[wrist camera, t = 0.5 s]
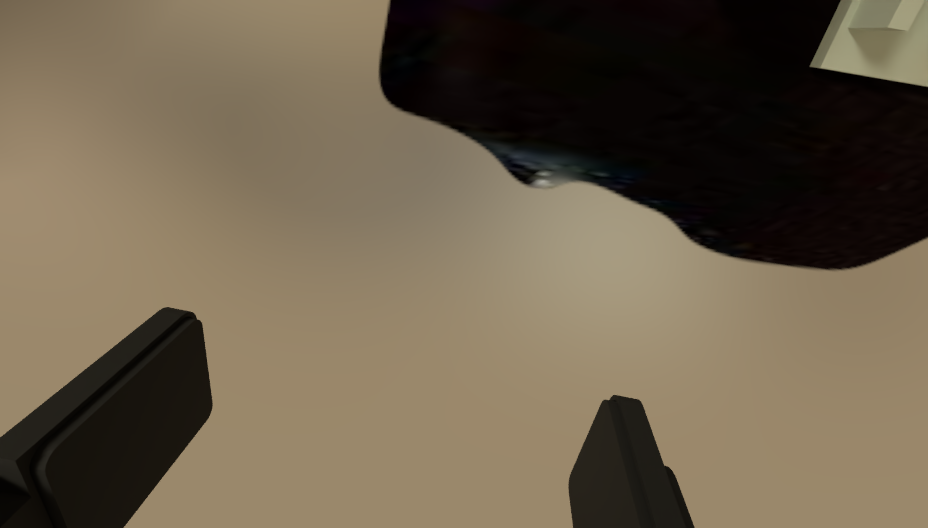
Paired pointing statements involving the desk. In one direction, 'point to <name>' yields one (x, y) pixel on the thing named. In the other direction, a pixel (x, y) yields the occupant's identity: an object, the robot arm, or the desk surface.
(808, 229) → the desk surface
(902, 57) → the rack
